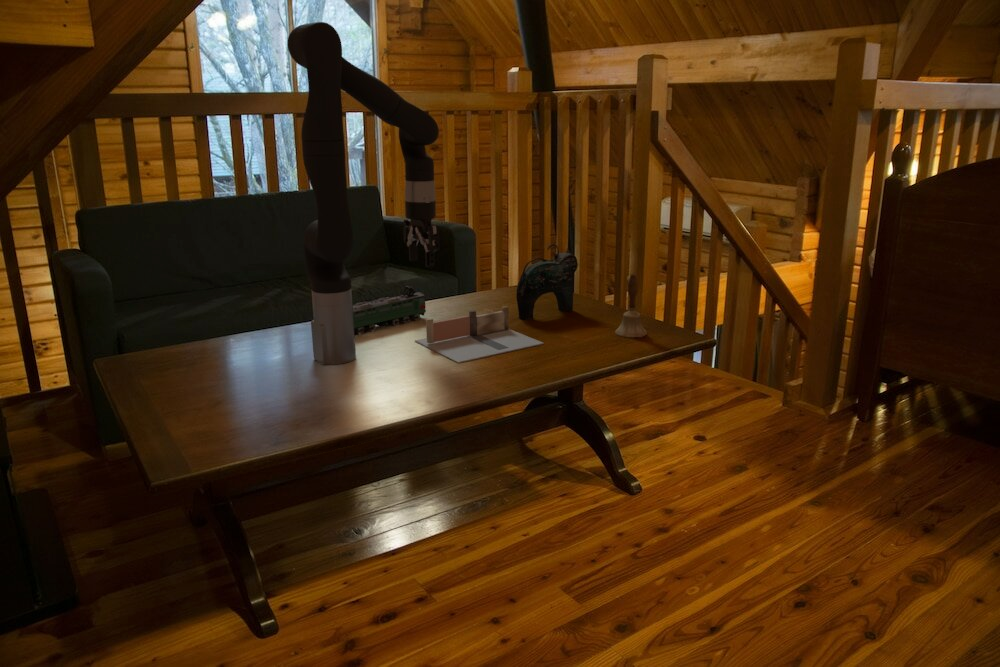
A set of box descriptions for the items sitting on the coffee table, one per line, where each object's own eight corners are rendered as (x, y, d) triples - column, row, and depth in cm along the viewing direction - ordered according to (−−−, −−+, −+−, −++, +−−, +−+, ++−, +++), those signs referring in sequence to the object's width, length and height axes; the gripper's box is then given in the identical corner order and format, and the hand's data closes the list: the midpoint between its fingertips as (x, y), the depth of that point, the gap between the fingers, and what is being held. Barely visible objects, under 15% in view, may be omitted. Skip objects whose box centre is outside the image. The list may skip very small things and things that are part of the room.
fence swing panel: (466, 333, 205) (466, 311, 203) (470, 335, 204) (470, 312, 202) (425, 341, 198) (424, 319, 197) (429, 343, 197) (428, 320, 195)
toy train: (430, 318, 223) (429, 284, 220) (335, 341, 202) (333, 303, 200) (420, 315, 226) (418, 281, 223) (325, 337, 206) (323, 300, 203)
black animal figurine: (567, 306, 234) (568, 239, 228) (581, 311, 229) (583, 243, 223) (513, 316, 223) (513, 247, 217) (526, 322, 218) (526, 251, 212)
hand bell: (647, 338, 203) (651, 278, 198) (615, 337, 204) (617, 277, 199) (645, 329, 211) (648, 271, 206) (614, 328, 212) (616, 270, 207)
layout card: (458, 363, 185) (458, 361, 185) (415, 341, 201) (415, 340, 201) (543, 344, 199) (543, 342, 199) (496, 325, 215) (496, 323, 215)
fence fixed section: (471, 336, 204) (471, 312, 202) (468, 335, 205) (467, 311, 204) (509, 328, 211) (509, 305, 209) (506, 327, 212) (505, 304, 210)
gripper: (393, 197, 197) (395, 260, 201) (421, 203, 185) (422, 270, 190) (419, 195, 201) (421, 257, 205) (448, 201, 189) (449, 267, 194)
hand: (421, 263), depth 198 cm, fingers open, 8 cm apart
